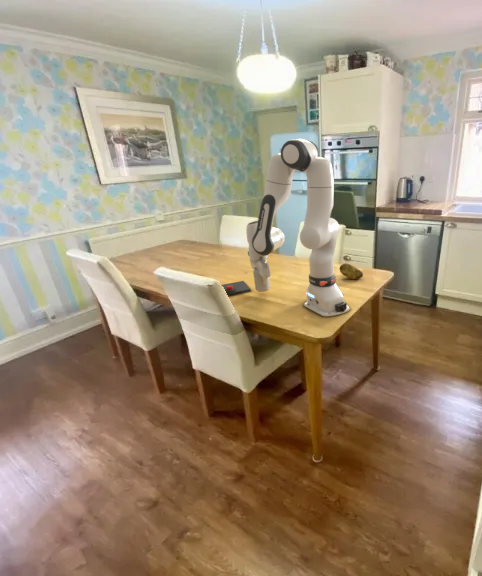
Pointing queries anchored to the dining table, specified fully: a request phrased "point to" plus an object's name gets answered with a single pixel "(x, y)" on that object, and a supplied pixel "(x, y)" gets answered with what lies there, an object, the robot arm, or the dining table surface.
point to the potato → (350, 271)
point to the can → (260, 282)
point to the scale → (237, 288)
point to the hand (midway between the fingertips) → (262, 281)
